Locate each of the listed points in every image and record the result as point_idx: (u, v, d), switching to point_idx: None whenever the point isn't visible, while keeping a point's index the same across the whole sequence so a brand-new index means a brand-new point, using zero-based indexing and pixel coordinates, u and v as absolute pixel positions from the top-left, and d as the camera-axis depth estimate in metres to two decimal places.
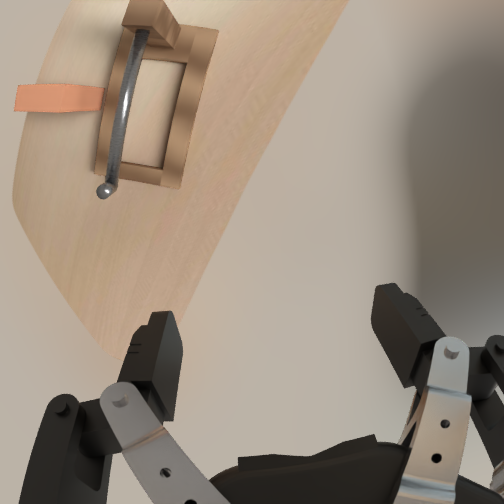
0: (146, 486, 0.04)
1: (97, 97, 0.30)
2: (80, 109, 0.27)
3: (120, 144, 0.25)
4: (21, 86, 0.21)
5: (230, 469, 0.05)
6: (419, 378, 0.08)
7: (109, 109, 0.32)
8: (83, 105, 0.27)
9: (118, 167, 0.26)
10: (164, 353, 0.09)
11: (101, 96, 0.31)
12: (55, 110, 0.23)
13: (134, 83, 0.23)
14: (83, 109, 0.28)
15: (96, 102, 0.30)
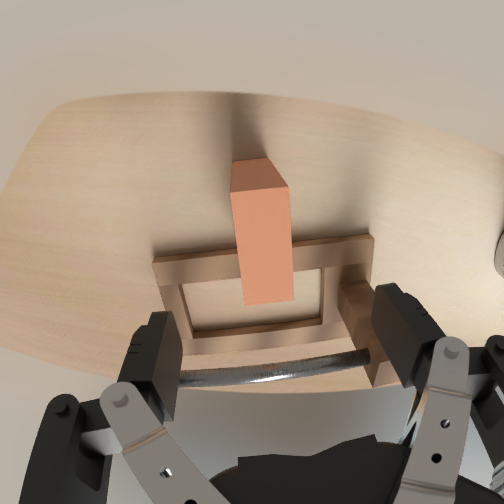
0: (146, 486, 0.04)
1: None
2: None
3: (222, 385, 0.22)
4: (286, 198, 0.15)
5: (230, 469, 0.05)
6: (419, 378, 0.08)
7: None
8: None
9: None
10: (164, 353, 0.09)
11: None
12: (246, 296, 0.18)
13: None
14: None
15: None
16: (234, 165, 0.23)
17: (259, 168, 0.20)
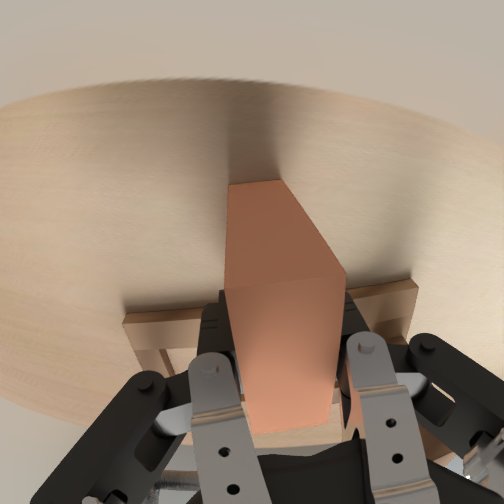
0: (199, 459, 0.05)
1: None
2: None
3: None
4: (338, 295, 0.07)
5: None
6: (339, 372, 0.09)
7: None
8: None
9: None
10: None
11: None
12: (255, 425, 0.10)
13: None
14: None
15: None
16: (232, 194, 0.15)
17: (274, 205, 0.12)
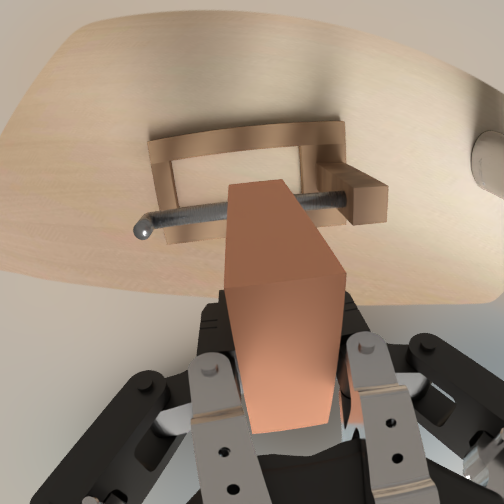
0: (199, 459, 0.05)
1: None
2: None
3: (202, 221, 0.24)
4: (338, 294, 0.07)
5: None
6: (339, 371, 0.09)
7: (231, 135, 0.29)
8: None
9: None
10: None
11: None
12: (255, 425, 0.10)
13: None
14: None
15: None
16: (232, 194, 0.15)
17: (274, 205, 0.12)
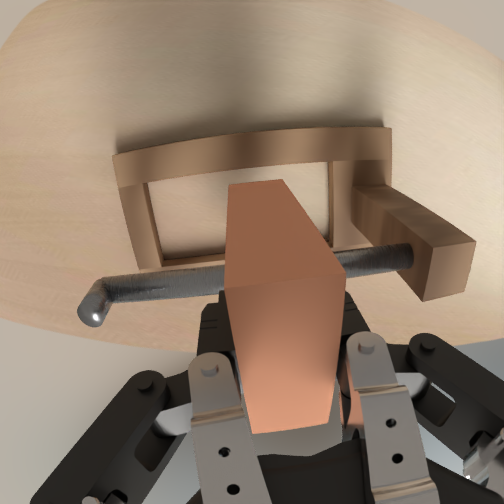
0: (199, 459, 0.05)
1: None
2: None
3: None
4: (338, 294, 0.07)
5: None
6: (339, 371, 0.09)
7: (231, 145, 0.20)
8: None
9: None
10: None
11: None
12: (255, 425, 0.10)
13: None
14: None
15: None
16: (232, 194, 0.15)
17: (274, 205, 0.12)
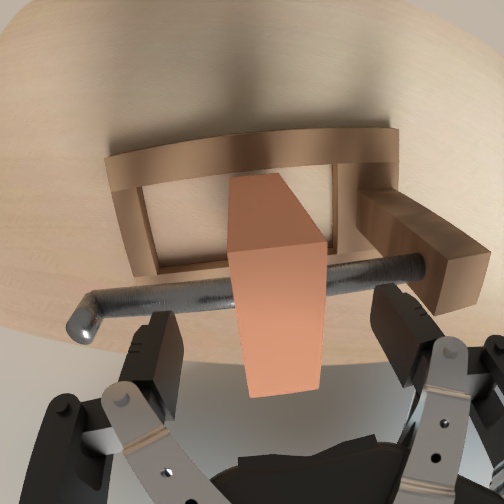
0: (147, 485, 0.04)
1: None
2: None
3: None
4: (321, 260, 0.09)
5: (230, 469, 0.05)
6: (418, 377, 0.08)
7: (230, 147, 0.19)
8: None
9: (135, 315, 0.13)
10: (165, 353, 0.09)
11: None
12: (253, 388, 0.12)
13: None
14: None
15: None
16: (233, 185, 0.16)
17: (270, 193, 0.14)
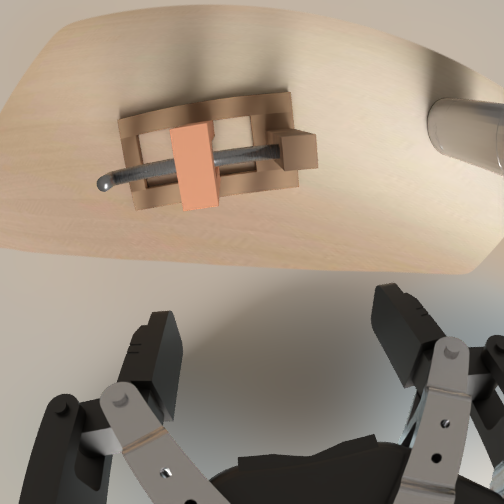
0: (146, 486, 0.04)
1: None
2: None
3: (154, 175, 0.26)
4: (205, 131, 0.22)
5: (230, 469, 0.05)
6: (419, 377, 0.08)
7: (188, 110, 0.32)
8: None
9: (132, 181, 0.26)
10: (164, 353, 0.09)
11: None
12: (184, 203, 0.25)
13: (219, 165, 0.27)
14: None
15: None
16: None
17: None
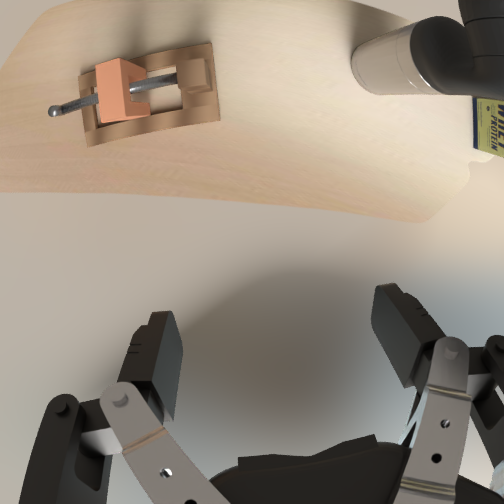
0: (146, 486, 0.04)
1: (138, 117, 0.36)
2: (117, 120, 0.32)
3: (88, 104, 0.29)
4: (118, 63, 0.25)
5: (230, 469, 0.05)
6: (419, 378, 0.08)
7: None
8: (122, 119, 0.32)
9: (74, 110, 0.29)
10: (164, 353, 0.09)
11: (142, 116, 0.37)
12: (102, 116, 0.27)
13: (134, 92, 0.29)
14: (119, 120, 0.33)
15: (134, 118, 0.36)
16: None
17: None
